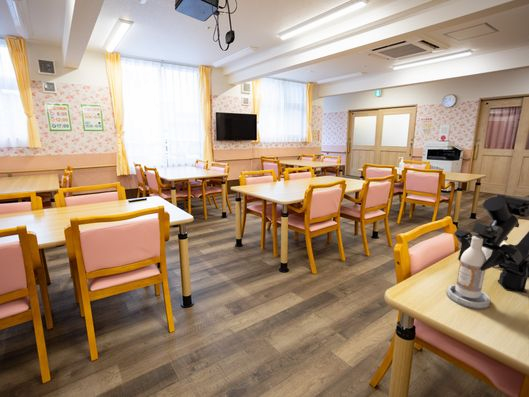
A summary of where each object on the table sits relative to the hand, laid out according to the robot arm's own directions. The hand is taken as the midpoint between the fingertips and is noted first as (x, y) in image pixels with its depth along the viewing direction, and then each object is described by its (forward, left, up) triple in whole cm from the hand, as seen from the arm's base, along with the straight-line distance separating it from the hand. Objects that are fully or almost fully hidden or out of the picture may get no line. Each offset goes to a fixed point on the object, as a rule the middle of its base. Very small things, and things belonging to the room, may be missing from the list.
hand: (469, 264), depth 93 cm
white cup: (-21, -35, -13) cm, 43 cm away
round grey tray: (-2, -2, -13) cm, 13 cm away
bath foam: (-1, -1, -11) cm, 11 cm away
